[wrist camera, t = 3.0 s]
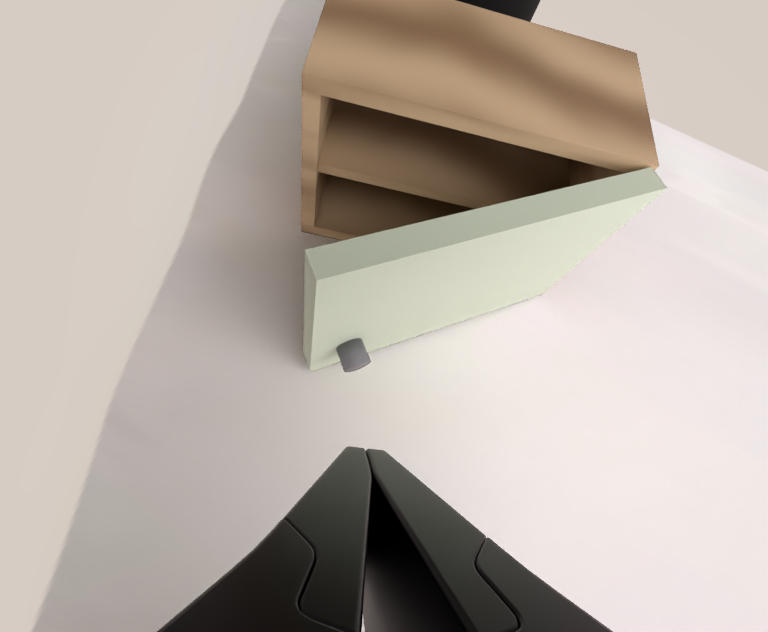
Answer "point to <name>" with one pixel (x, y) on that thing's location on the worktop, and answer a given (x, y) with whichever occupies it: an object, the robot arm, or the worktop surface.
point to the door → (456, 266)
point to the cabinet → (456, 113)
